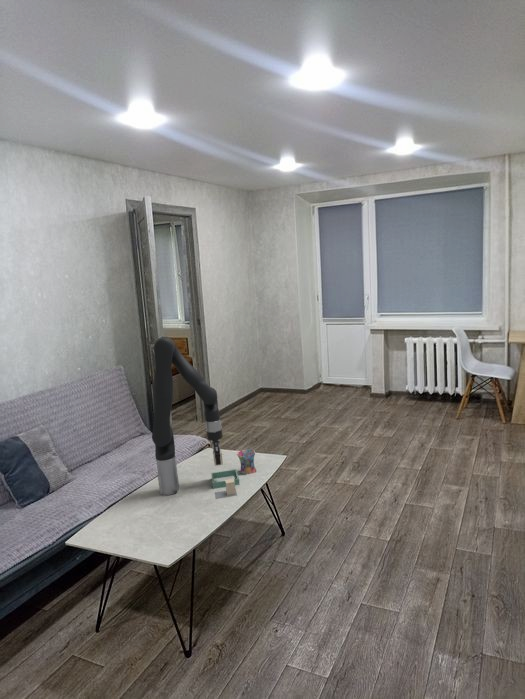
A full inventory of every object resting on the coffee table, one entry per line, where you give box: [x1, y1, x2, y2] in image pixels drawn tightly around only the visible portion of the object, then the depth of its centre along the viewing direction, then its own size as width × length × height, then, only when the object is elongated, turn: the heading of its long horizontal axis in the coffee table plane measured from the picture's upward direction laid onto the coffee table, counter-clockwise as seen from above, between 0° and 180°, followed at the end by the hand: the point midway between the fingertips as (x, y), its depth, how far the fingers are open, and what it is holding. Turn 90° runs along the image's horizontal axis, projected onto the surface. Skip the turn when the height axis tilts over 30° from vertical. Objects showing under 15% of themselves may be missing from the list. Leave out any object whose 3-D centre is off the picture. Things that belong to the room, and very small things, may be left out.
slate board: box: [214, 488, 238, 500], centre depth 233 cm, size 10×7×1 cm
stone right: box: [224, 478, 237, 496], centre depth 233 cm, size 4×4×6 cm
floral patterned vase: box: [236, 449, 257, 475], centre depth 258 cm, size 12×9×11 cm
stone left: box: [212, 449, 224, 467], centre depth 245 cm, size 4×4×6 cm
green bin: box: [210, 469, 240, 489], centre depth 247 cm, size 13×13×4 cm
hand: (218, 462), depth 246 cm, fingers closed on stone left, 4 cm apart
